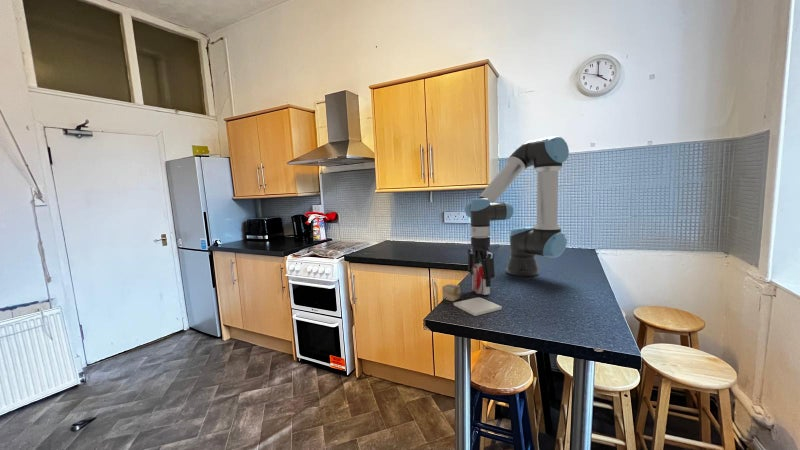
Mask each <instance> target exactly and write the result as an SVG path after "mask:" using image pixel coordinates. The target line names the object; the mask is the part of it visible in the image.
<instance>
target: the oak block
mask: <svg viewBox="0 0 800 450" xmlns="http://www.w3.org/2000/svg"><path fill="white" fill-rule="evenodd" d="M441 289H442V299H443V300H447V301H451V302H455V301H457V300H459V299H461V285H458V284H453V283H447V284H445V285H443V286H442V287H441ZM446 297H447V298H446ZM445 298H446V299H445Z"/></svg>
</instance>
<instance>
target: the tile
mask: <svg viewBox="0 0 800 450" xmlns="http://www.w3.org/2000/svg"><path fill="white" fill-rule="evenodd" d="M453 306H454V307H457V308H458V309H460V310H462V311H464V312H466V313H468V314H470V315H471V316H474V317H476V316H480V315H484V314H488V313H492V312H497V311H500V310H502V308H503V306H502V305H499V304H498V303H494V302H493V301H492V302H491V301H490V300H487V299H485V298H482V297H480V296H479V297H473V298H468V299H465V300H461V301H456V302H455V301H454V302H453Z"/></svg>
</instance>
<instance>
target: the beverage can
mask: <svg viewBox="0 0 800 450" xmlns="http://www.w3.org/2000/svg"><path fill="white" fill-rule="evenodd" d="M487 276H488V275H487ZM483 278H485V277H484V272H483V268H482V263H481V262H479V263H476V264H474V267H473V290H472V291H473V293H475V294H477V295H483Z"/></svg>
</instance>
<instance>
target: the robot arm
mask: <svg viewBox="0 0 800 450" xmlns="http://www.w3.org/2000/svg"><path fill="white" fill-rule="evenodd" d="M569 152H570V151H569V145H568V144H567V141H565V139H564V137H561V136H558V135H557V136H547V137H543V138H538V139H535V140H528V141H527V142H524V143H523V144H521V145H520V146H519V147H518V148H517V149H515V151H513V153H512V154H511V155H509V157H508V158H507V160H506V164H505V165H504V166H503V167H502V169H501V170H500V171H499V172H498V173H497V174H496V176H495V177H494V178H493V179H492V181H490V182H489V184H488V185H487V186H486V187H485V189H484V190H483V191H482V192H481V193H480V194H479V196H478V197H477V198H472V199H471V200H470V202H468V203H467V204H466V206H465V207H464V212H465V215H466V216H467V217H468V218H470V235H471V237H470V246H471V247H472V248H469V249H467V254H468V256H467V257H468V259H467V272H468V273H470V275H471V289H472V290H471V291H473V267H474V264H476V263H482V268H483V272H484V277H485V278H483V294H482V295H484V296H486V295H491V292H490V291H491V289H490V288H491V279H494V278H495V276H496V275H495V261H494V260H495V253H494V252H490V249H489V247H490V246H491V238H490V236H491V222H492V221H496V222H497V221H505V220H509V219H511V218H512V217H513V215H514V207H513V205H512V204H511V203H510V202H507V201H499V202H498V200H499V198H500V197H501V196H502V195H503V193H504V192H505V191H506V190H507V189H508V188H509V187H510V186H511V184H512V183H513V182H514V181H515V179H516V178H517V177H518V175H519V174H520V173H523V172H525V170H527V168H529V167H532V166H533V170H534V171H536V173H537V176H536V177H537V180H536V181H537V186H536V187H537V190H536V224H535V225H534V226H527V227H515V228H512V229H511V230H510V235H509V242H510V243H509V245H510V246H509V247H510V248H509V250H510V257H509V260H508V264H507V266H506V272H507V274H509V275H513V276H519V277H532V276H538V275H539V274H540V270H539V267H538V264H537V260H536V256H540V257H545V258H553V259H554V258H559V257H560V256H561V255H562V254H563V253H564V252H565V249H566V247H567V244H568V243H567V237H566V234H564V233H563V232H562V228H561V226H560V225H559V224H558V207H559V206H558V204H559V203H558V202H559V171H560V170H561V169H562V168H563V163H564V162H566V161H567V160H568V157H569V155H570V153H569ZM487 275H488V276H487Z"/></svg>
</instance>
